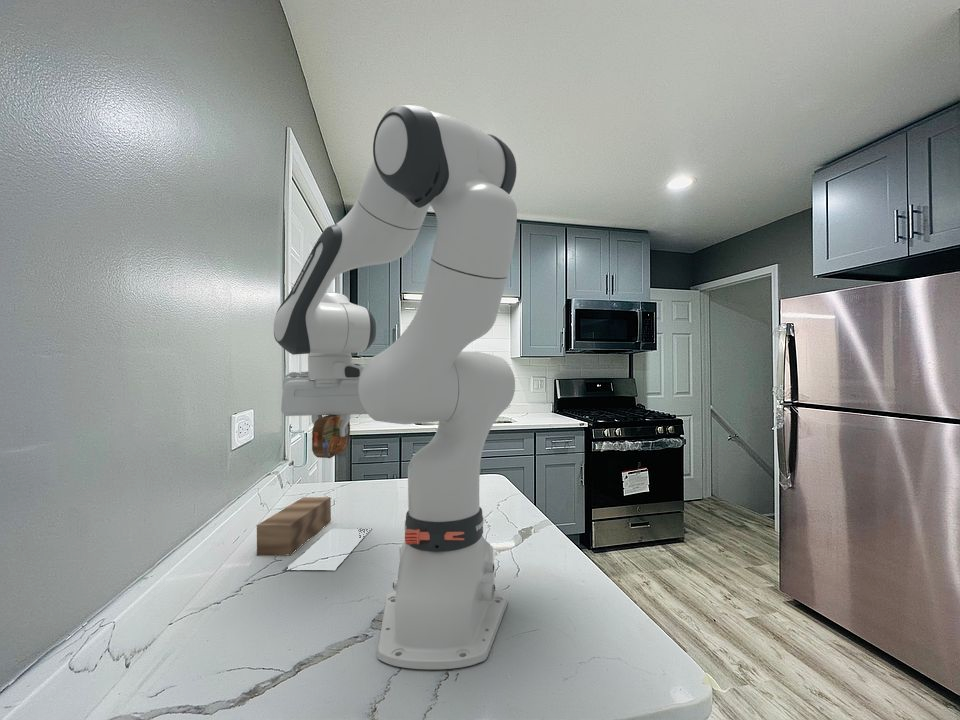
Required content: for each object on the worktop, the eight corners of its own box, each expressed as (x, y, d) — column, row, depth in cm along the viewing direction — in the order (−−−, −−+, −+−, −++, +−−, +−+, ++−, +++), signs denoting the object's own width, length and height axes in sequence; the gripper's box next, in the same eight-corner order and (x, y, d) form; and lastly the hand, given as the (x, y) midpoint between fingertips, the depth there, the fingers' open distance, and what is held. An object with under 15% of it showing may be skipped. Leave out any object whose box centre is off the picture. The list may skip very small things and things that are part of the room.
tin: (322, 462, 84) (326, 418, 85) (306, 460, 85) (310, 417, 85) (350, 448, 99) (353, 411, 100) (336, 447, 100) (339, 410, 100)
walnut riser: (290, 555, 87) (290, 525, 88) (256, 555, 88) (256, 525, 88) (330, 521, 107) (330, 497, 108) (303, 521, 108) (303, 497, 108)
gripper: (274, 372, 90) (275, 439, 89) (372, 369, 88) (373, 437, 88) (290, 372, 96) (290, 435, 95) (381, 369, 95) (382, 433, 94)
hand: (331, 436), depth 92 cm, fingers closed on tin, 2 cm apart
